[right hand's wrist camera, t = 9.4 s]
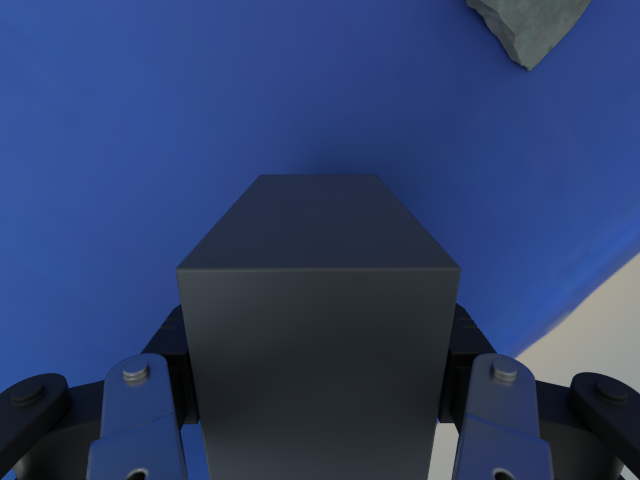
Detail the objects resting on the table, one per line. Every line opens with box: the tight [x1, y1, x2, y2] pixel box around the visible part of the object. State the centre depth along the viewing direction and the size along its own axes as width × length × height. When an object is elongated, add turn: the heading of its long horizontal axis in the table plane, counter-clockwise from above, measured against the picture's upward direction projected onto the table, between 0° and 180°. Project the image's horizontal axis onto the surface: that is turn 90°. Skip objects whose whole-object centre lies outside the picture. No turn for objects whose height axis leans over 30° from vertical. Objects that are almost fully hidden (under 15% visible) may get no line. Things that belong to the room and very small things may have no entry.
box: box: [176, 175, 461, 480], centre depth 16 cm, size 22×6×11 cm, turn 0°
